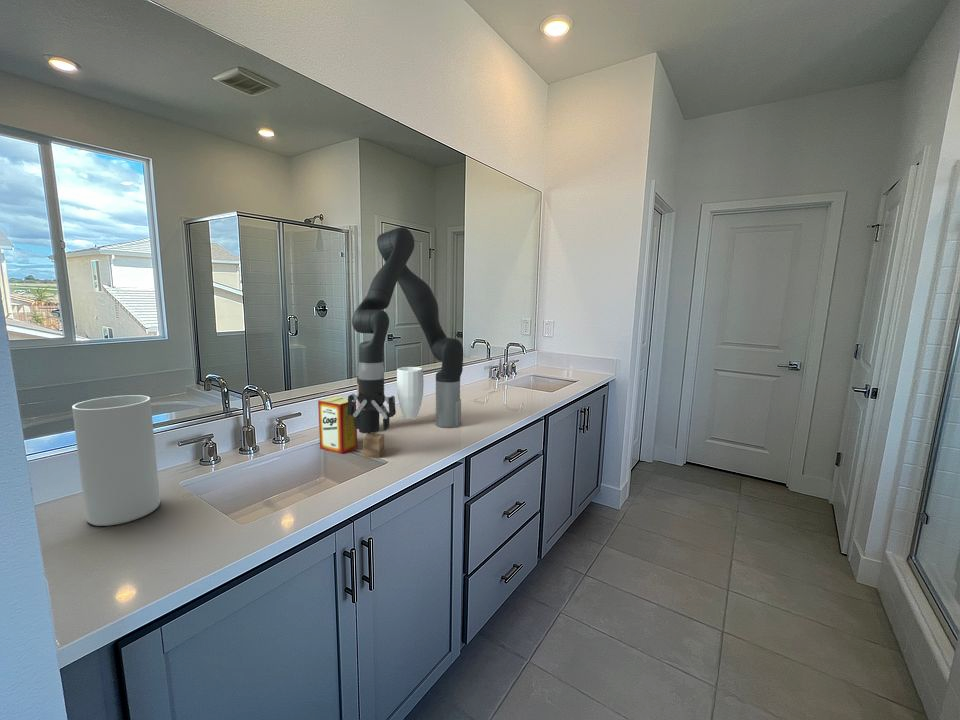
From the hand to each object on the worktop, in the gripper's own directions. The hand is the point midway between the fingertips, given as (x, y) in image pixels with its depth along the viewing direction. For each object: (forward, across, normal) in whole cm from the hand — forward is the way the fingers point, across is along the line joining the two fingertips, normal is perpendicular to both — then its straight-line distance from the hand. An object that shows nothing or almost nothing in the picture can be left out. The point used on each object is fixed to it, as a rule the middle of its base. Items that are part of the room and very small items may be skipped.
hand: (371, 429), depth 129 cm
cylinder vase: (+9, +41, +41) cm, 59 cm away
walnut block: (+8, -1, 0) cm, 8 cm away
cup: (+8, -3, -32) cm, 33 cm away
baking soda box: (+8, +12, -4) cm, 15 cm away
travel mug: (+8, +10, -23) cm, 26 cm away
